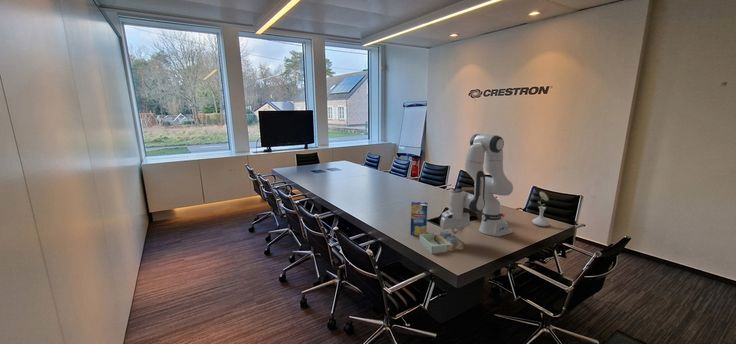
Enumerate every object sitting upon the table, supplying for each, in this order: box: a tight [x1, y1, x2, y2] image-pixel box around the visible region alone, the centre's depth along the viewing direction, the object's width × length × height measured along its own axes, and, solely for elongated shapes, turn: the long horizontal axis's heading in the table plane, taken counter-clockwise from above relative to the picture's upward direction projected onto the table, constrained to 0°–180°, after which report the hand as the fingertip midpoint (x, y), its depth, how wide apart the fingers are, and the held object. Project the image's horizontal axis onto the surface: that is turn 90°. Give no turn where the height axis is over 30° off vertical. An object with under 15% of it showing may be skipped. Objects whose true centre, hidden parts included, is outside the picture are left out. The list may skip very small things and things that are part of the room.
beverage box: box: [410, 201, 429, 236], centre depth 211 cm, size 7×11×22 cm, turn 78°
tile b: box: [447, 235, 459, 243], centre depth 190 cm, size 5×5×2 cm
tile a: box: [439, 230, 452, 238], centre depth 198 cm, size 5×5×2 cm
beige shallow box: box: [434, 233, 465, 252], centre depth 195 cm, size 12×16×4 cm
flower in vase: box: [531, 191, 550, 227], centre depth 226 cm, size 13×11×25 cm
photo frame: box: [461, 186, 483, 222], centre depth 240 cm, size 15×22×25 cm
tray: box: [418, 232, 448, 255], centre depth 192 cm, size 10×18×5 cm, turn 15°
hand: (454, 233), depth 199 cm, fingers closed
